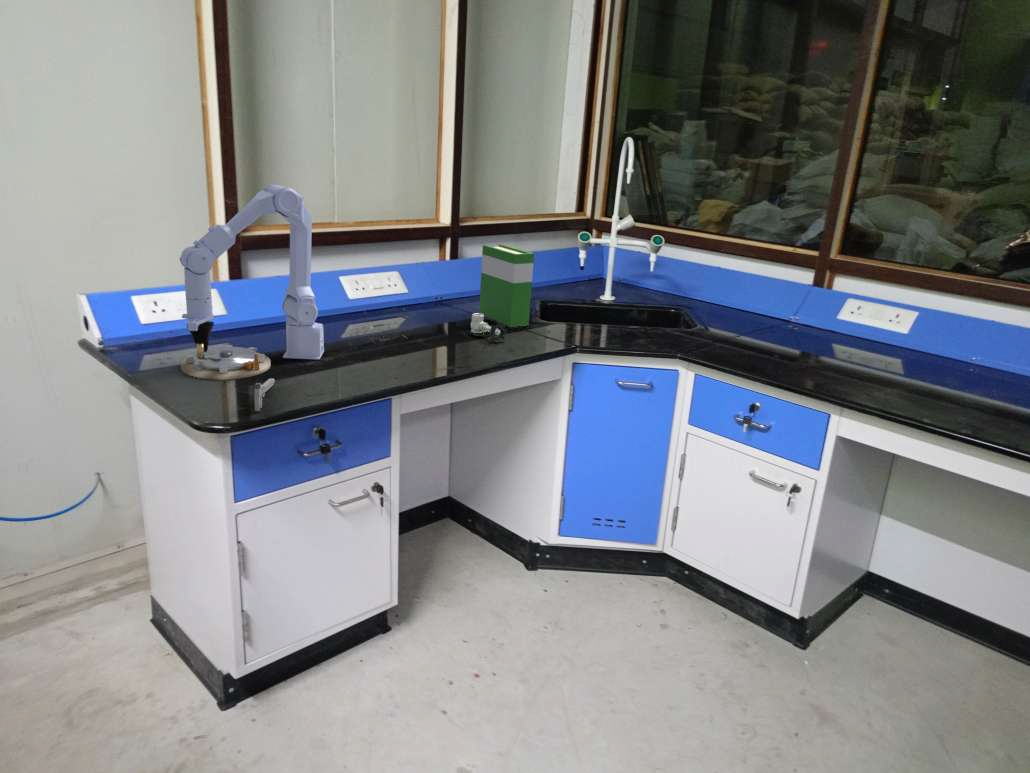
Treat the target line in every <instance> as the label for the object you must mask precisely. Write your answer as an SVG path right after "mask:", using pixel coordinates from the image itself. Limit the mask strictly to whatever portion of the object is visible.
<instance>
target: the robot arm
mask: <svg viewBox="0 0 1030 773" xmlns="http://www.w3.org/2000/svg"><path fill="white" fill-rule="evenodd" d="M277 214H279V215H280V216H281V217H282V218H283V219H284V220H286V221H287V223H289V278H288V279H289V284H288V286H287V288H286V289H285V297H284V299H283V300H282V304H281V309H282V312H283V313H284V314H285V315H286V319H285V330H286V333H285V334H286V351H285V353H283V355H282V358H283V359H298V360H320V359H321V358H322V356H323V354H324V352H325V345H324V341H325V339H324V337H325V336H324V324H323V323H318V322H315V321H316V320H317V318H318V316H319V310H318V306H317V305H316V296H315V294H314V292H313V290H312V288H311V285H312V284H311V283H312V281H311V280H312V278H311V277H312V276H311V275H312V238H313V236H312V232H313V231H312V229H313V219H312V215H311V213H310V212H309V210H308V208H307V206H306V204H305V202H304V197H303V196H302V195H301V194H300V193H299V192H298V191H296V190H295V189H293V188H291V187H285V186H283V185H280V184H277V183H271V184H269V185H266V186H265V187H264V189H263V190H260V191H259V192H257V193H256V194H255V196H254V197H253V198H252V199H251V200H249V202H248V203H246V205H245V206H244V207H242V209H240V210H239V211H238V212H237V213H236V214H235V215H234V216H233V217H232V218H231V219H230V220H229V221H228V222H227V223H226V224H216V225H215V226H214V225H211V226H209V227H208V228H207V230H208V231H207V232H206V234H204V235H203V236H202V237H201V238H199V239H198V240H194V241H193V243H192V244H193V245H190V246H187V247H185V248H184V249H183V250H182V252H181V255H180V257H179V262H180V264H181V265H182V267H184V268H183V270H184V271H183V272H184V290H185V304H186V313H183V314H182V315H181V318H182V319H186V321H187V324H186V328H187V331H189V333H190V335H191V337H192V339H193V342H194V344H195V348H196V350H197V346H196V344H197V343H203V344H204V352H207V350H208V349H209V343H210V337H211V332H212V329H213V327H214V326H215V321H212V320H213V319H214V318H215V317H214V313H213V299H212V287H211V286H212V284H211V275H210V271H211V270H212V268H213V266H214V261H217V259H219V258H220V257H221V256H222V255H223V254H224V253H225V252H227V251H228V250H229V249H230V248H231V247H232V246H234V245H235V243H236V237H237V235H238V234H239V233H242V231H243V230H245V229H246V228H247V227H248V226H250V225H251V224H252V223H254V222H255V221H257V219H259V218H260V217H262V216H270V215H272V216H273V215H277Z"/></svg>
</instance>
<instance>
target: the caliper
mask: <svg viewBox="0 0 1030 773" xmlns="http://www.w3.org/2000/svg"><path fill="white" fill-rule="evenodd" d="M275 382H276V380H275V378H268V379H267V380H266V381H265V382H263V384H262V383H261V382H255V384H254V412H259V411H260V412H261V409H260V408H263V398H265V396H266V392H267V391H269V390H270V389H271V387H273V386H274V384H275Z"/></svg>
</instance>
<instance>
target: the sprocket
mask: <svg viewBox="0 0 1030 773" xmlns="http://www.w3.org/2000/svg"><path fill="white" fill-rule="evenodd" d="M196 346H197V349H196V353H194V354H187V355H186V358H185V359H186V362H187V363H193V369H195V370H198V371H199V370H202V369H207V370H216V371H220V373H228V370H238V369H244V368H246V369H249V370H250V369H253V368H255V357H254V354H258V353H259V352H258V348H257V347H253V346H250V347H242V346H240V347H239V346H233V344H224V346H219V347H212V348H211V347H210V348H208V350H207V352H204V344H203V343H197V344H196V345H195V347H196ZM265 356H266V355H265V353H260V354H259V362H265Z"/></svg>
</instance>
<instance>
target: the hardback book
mask: <svg viewBox="0 0 1030 773" xmlns="http://www.w3.org/2000/svg"><path fill="white" fill-rule="evenodd" d="M534 260H535V252H534V253H533V252H531V251H527V250H522V249H519V248H516V247H512V246H509V245H505V244H501V243H500V244H498V246H489V245H486V244H483V245H482V252H481V273H480V289H479V291H480V292H479V305H478V308H479V309H478V313H481V314H483V315H485V316H487V317H489V318H491V319H494V320H496V321H499V322H501V323H504V324H505V325H507V326H509V327H517V326H527V325H529V324H530V310H531V299H532V298H531V297H532V289H533V288H532V286H533V273H534ZM529 326H530V325H529Z"/></svg>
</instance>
